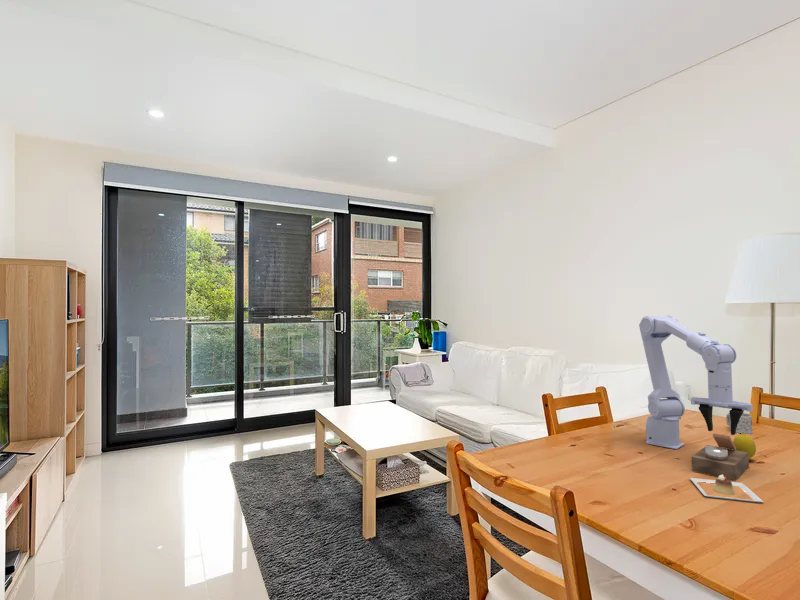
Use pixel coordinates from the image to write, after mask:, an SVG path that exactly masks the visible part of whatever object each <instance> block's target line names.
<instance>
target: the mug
mask: <svg viewBox="0 0 800 600" xmlns="http://www.w3.org/2000/svg"><path fill="white" fill-rule="evenodd" d="M725 416H726V421H725V422H726V424H727V426H728V427H729V432H730V431H731V420H730V413H727V414H726V415H725ZM752 417H753V416H752V414H749V413H745V412H743V414H742V416H741V417H740V419H739V422H738V424H737V428H736V434H737V433H741V434H750V435H752V434H753V419H752ZM741 434H740V435H741Z"/></svg>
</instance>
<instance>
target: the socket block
mask: <svg viewBox="0 0 800 600" xmlns="http://www.w3.org/2000/svg"><path fill="white" fill-rule="evenodd" d="M706 446H711V445H710V444H707V445H705V446H704V447H703V448H702V449H700V450H699V451H697V452H696V453H695V454H693V455H692V456H691V471H692V472H694V471H696V472H695V473H699V472H700V474H703V473H705V475H708V474H709V475H708V476H712V475H713V477H717V478H718V476H720V475H722V474H723V475H724V477H726V478H727V479H728V480H730V481H733V482H737V480H738V479H739V478H740V477H741V476H742V475H743V474H744V472H745V471H746V470H747V469H748V468H749V466H750V464H749V463H750V461H749V460H750V459H749V458H748V452H742V451H737V450H732V449H727V448H725V449H727V450H728V460H727V461H717V460H712V459H709V458H706V457H705V447H706Z"/></svg>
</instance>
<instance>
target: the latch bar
mask: <svg viewBox="0 0 800 600" xmlns="http://www.w3.org/2000/svg"><path fill="white" fill-rule="evenodd" d="M712 437H713V440H714V441H715V443H716V444H717V447H721V448H726V449H732V450H736V447H735V445H734V443H733V440H732V438H731V435H724V434H720V433H712Z"/></svg>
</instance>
